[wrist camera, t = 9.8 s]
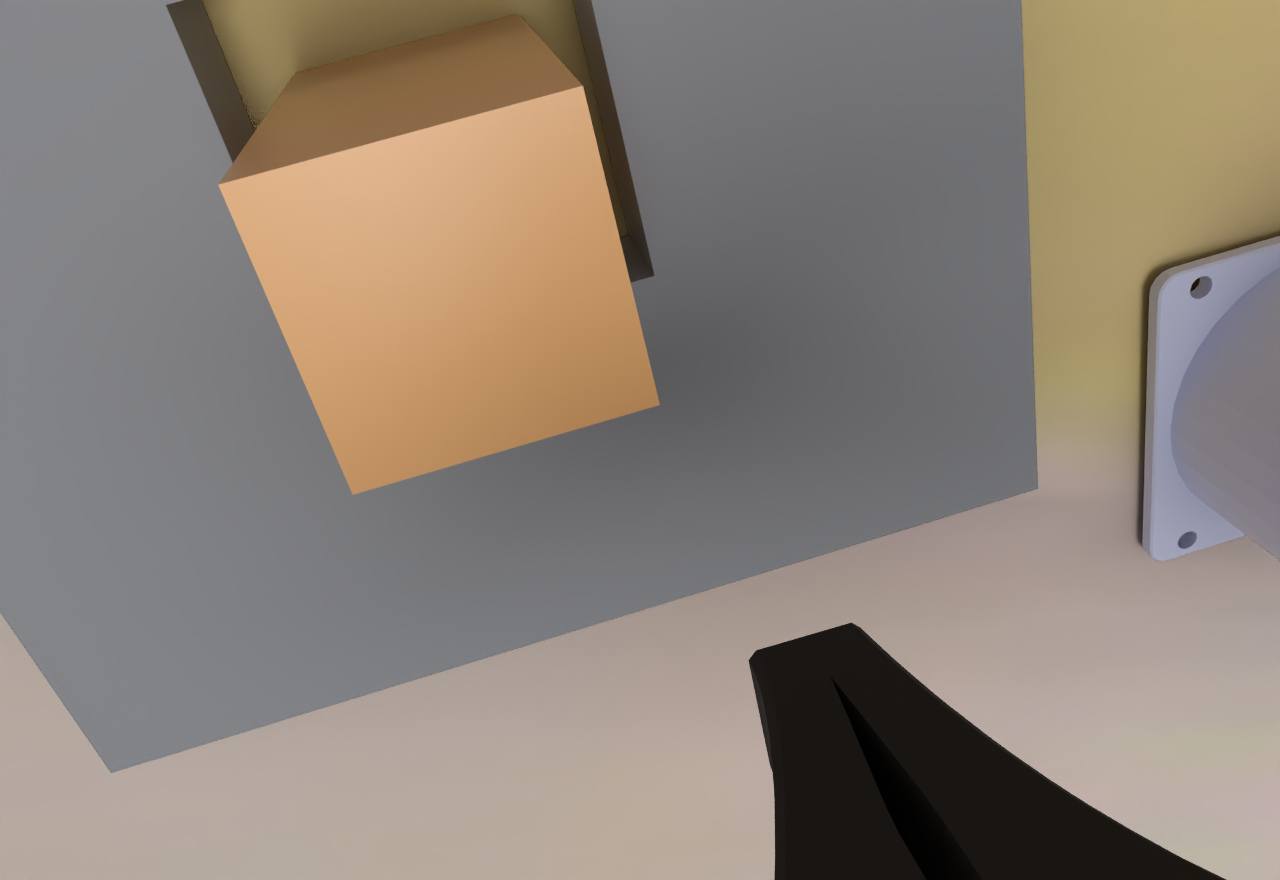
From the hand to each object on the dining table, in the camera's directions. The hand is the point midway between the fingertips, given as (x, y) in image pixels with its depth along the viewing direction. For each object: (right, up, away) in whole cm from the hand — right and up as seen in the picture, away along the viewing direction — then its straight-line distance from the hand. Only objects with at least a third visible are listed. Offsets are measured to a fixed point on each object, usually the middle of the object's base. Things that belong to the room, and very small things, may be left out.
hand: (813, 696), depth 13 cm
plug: (-6, +8, +6) cm, 12 cm away
